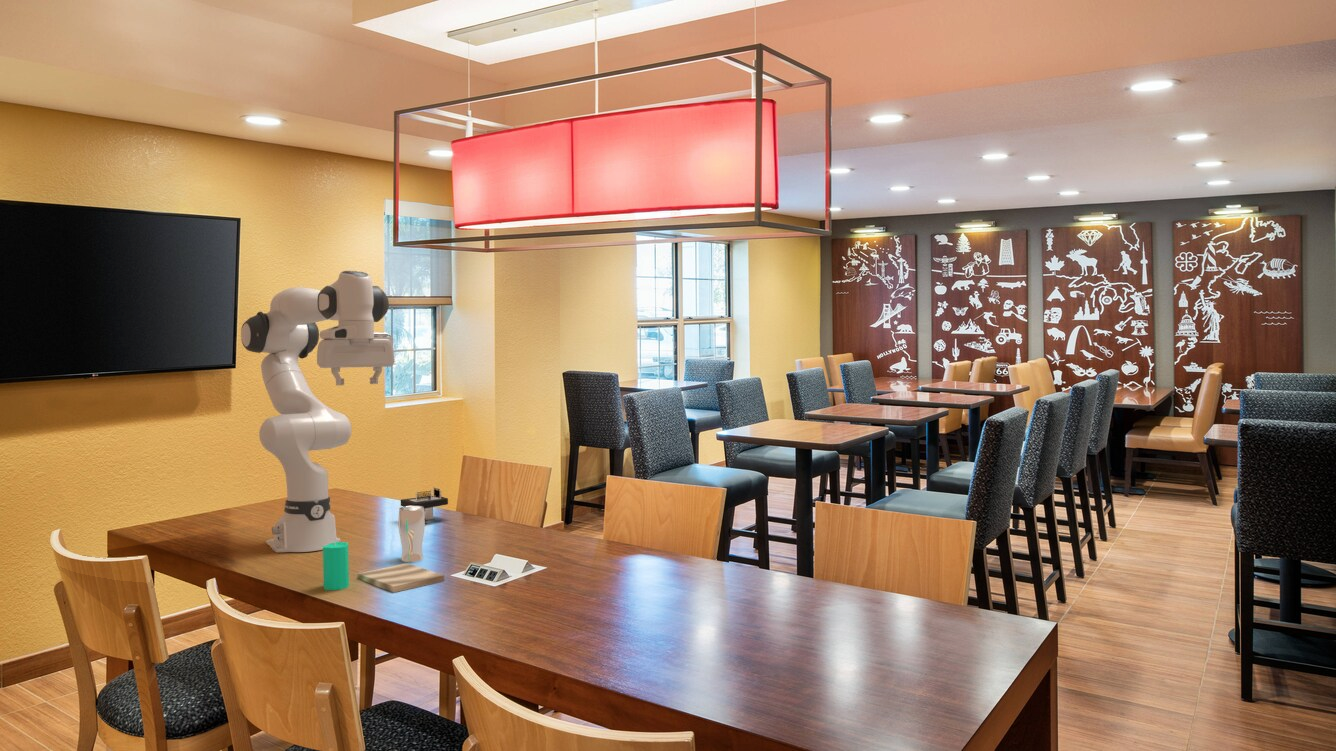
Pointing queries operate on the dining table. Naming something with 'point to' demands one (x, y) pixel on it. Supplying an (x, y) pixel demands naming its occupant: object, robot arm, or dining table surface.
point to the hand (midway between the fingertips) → (357, 384)
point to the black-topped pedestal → (426, 502)
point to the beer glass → (411, 532)
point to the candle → (335, 566)
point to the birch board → (401, 577)
